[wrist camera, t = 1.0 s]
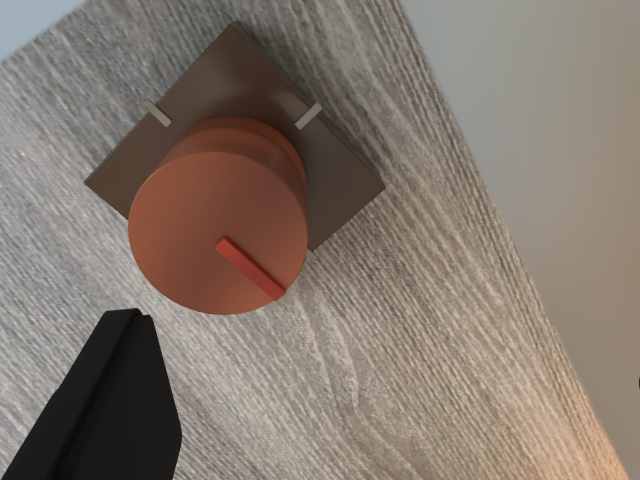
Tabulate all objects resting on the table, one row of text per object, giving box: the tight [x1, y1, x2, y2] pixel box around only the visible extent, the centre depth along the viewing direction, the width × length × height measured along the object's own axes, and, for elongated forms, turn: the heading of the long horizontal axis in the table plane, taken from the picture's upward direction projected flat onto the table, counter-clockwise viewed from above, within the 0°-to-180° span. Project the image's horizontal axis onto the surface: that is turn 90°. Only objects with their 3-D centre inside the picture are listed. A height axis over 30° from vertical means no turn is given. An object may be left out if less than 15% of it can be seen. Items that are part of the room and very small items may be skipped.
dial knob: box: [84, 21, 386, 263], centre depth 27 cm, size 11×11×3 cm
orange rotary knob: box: [128, 115, 308, 315], centre depth 23 cm, size 7×7×6 cm
